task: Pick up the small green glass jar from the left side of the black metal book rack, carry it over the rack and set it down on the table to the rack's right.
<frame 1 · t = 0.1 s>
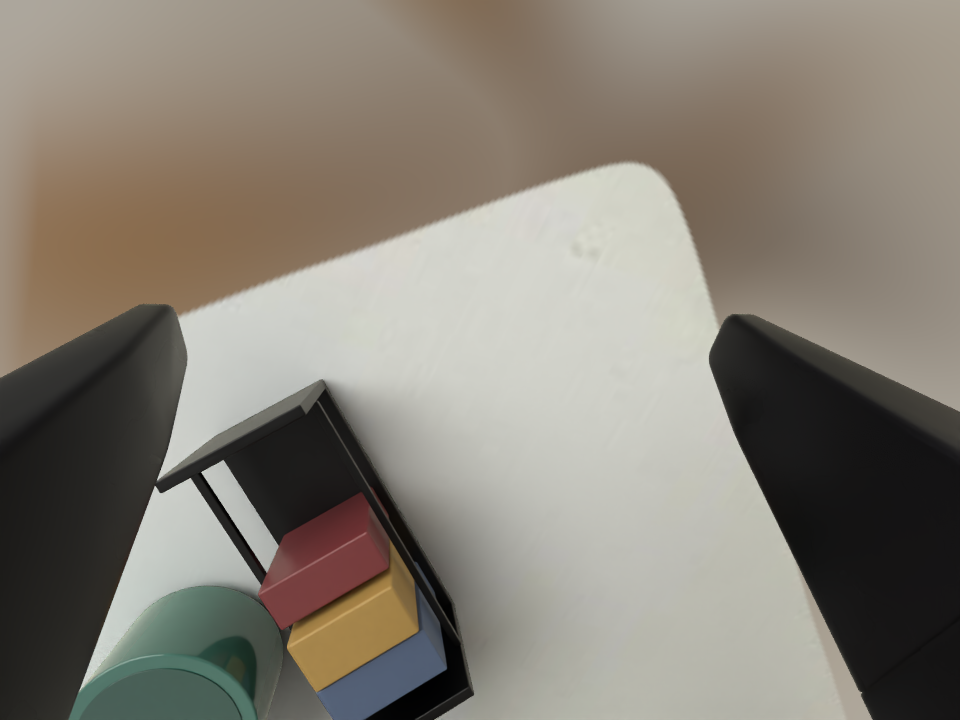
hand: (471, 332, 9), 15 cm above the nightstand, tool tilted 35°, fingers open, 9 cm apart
green glass jar: (207, 651, 24), on the nightstand
books: (340, 524, 24), resting on rack
rack: (340, 524, 24), on the nightstand
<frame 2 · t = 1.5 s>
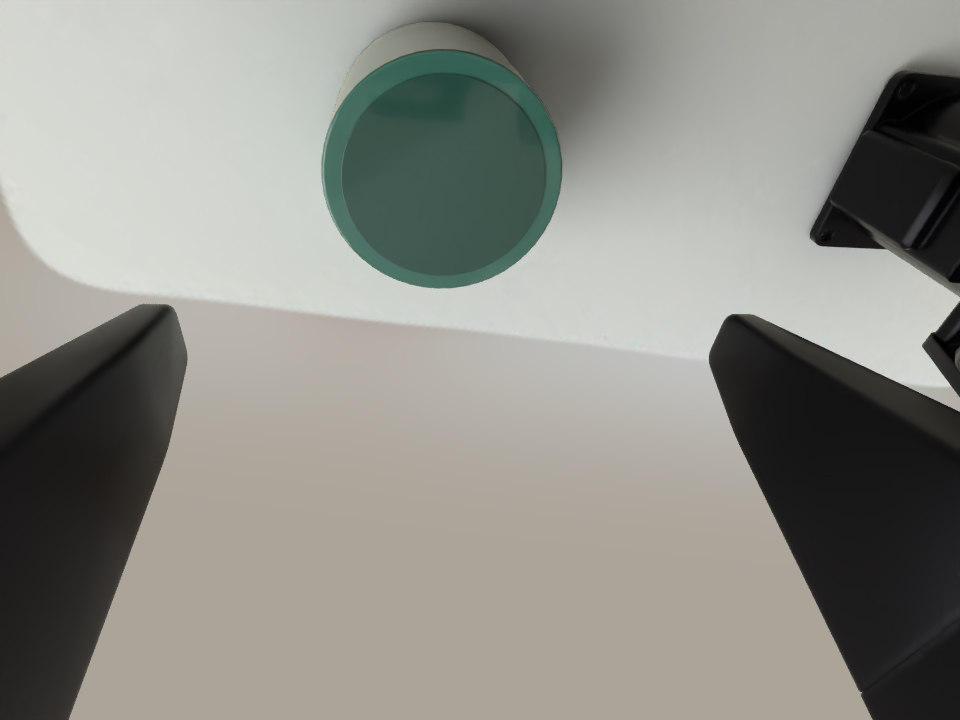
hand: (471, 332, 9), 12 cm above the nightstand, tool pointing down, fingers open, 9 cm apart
green glass jar: (433, 130, 18), on the nightstand
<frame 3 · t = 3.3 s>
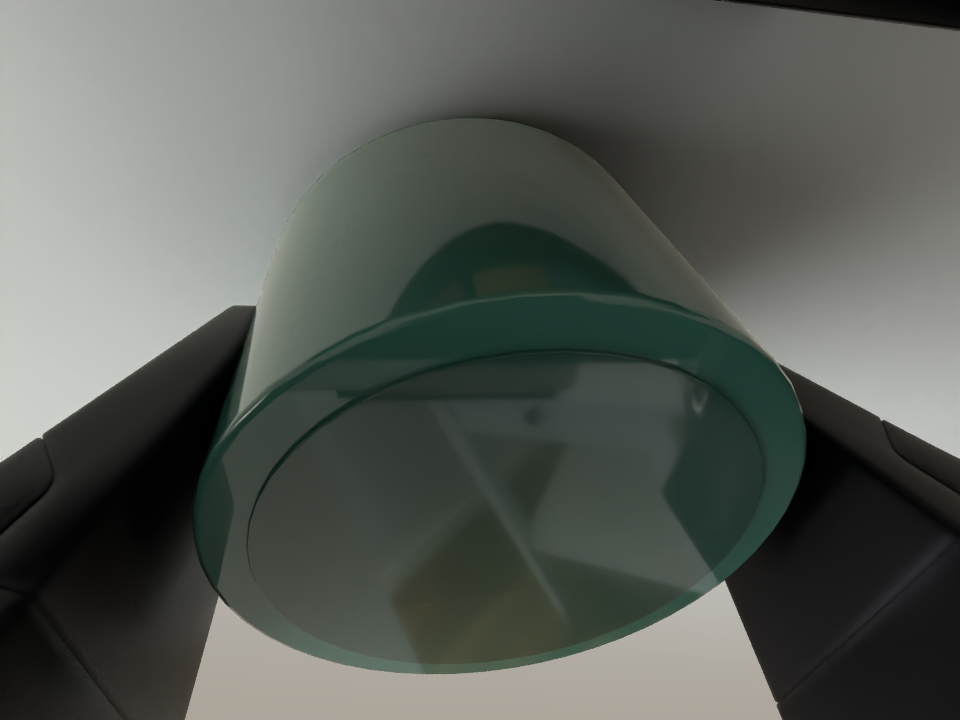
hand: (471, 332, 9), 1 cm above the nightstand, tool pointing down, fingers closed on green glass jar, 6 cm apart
green glass jar: (463, 299, 10), on the nightstand, touching gripper
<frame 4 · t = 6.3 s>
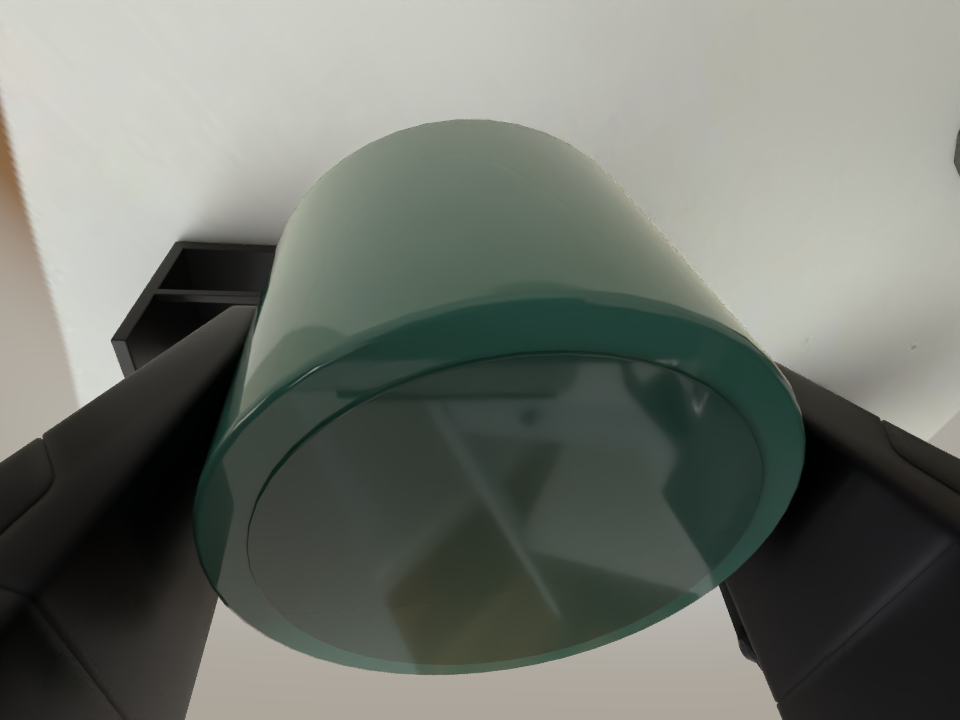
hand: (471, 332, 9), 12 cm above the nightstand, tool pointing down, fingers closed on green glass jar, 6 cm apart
green glass jar: (463, 300, 10), point 11 cm above the nightstand, touching gripper
rack: (349, 304, 22), on the nightstand
when the fingers open (1 cm above the nightstand, at t = 9.5 s): green glass jar stays where it is, on the nightstand.
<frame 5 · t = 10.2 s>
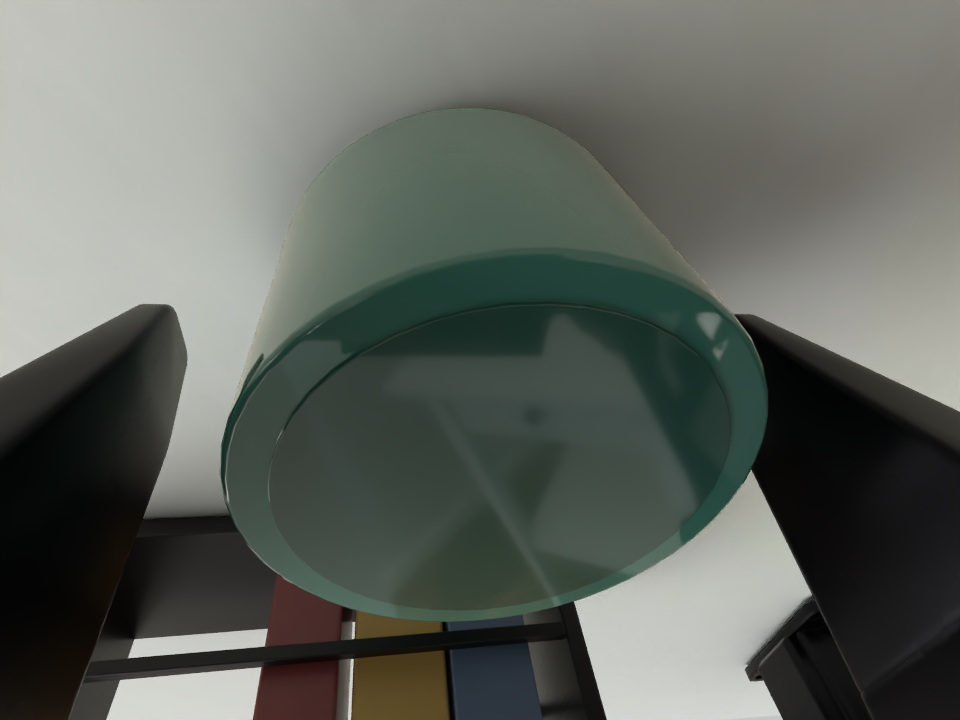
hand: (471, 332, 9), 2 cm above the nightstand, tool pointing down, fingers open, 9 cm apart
green glass jar: (461, 280, 10), on the nightstand
books: (329, 564, 16), resting on rack
rack: (329, 564, 16), on the nightstand
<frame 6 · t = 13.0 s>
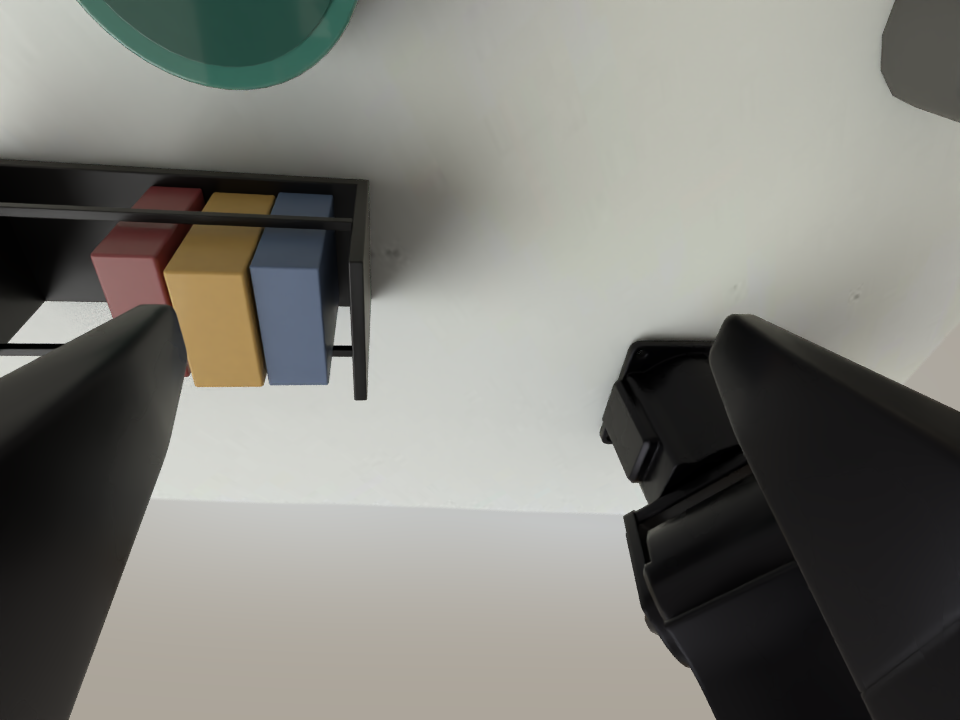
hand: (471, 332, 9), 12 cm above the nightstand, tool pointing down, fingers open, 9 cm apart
books: (200, 238, 20), resting on rack
rack: (200, 238, 20), on the nightstand
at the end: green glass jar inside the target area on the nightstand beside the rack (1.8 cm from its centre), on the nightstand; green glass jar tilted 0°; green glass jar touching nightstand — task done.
